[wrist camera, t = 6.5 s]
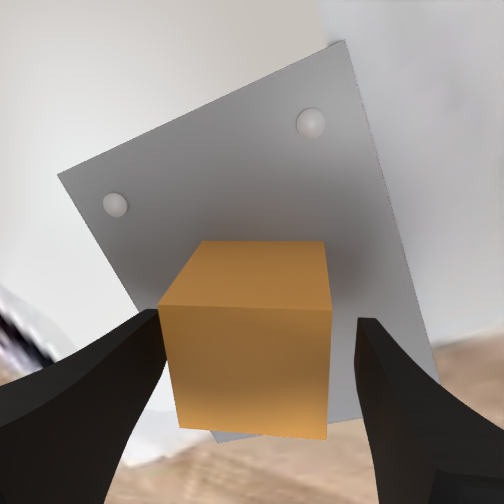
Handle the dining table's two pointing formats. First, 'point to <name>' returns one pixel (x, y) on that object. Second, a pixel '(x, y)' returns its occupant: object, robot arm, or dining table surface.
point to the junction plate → (263, 203)
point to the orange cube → (251, 338)
